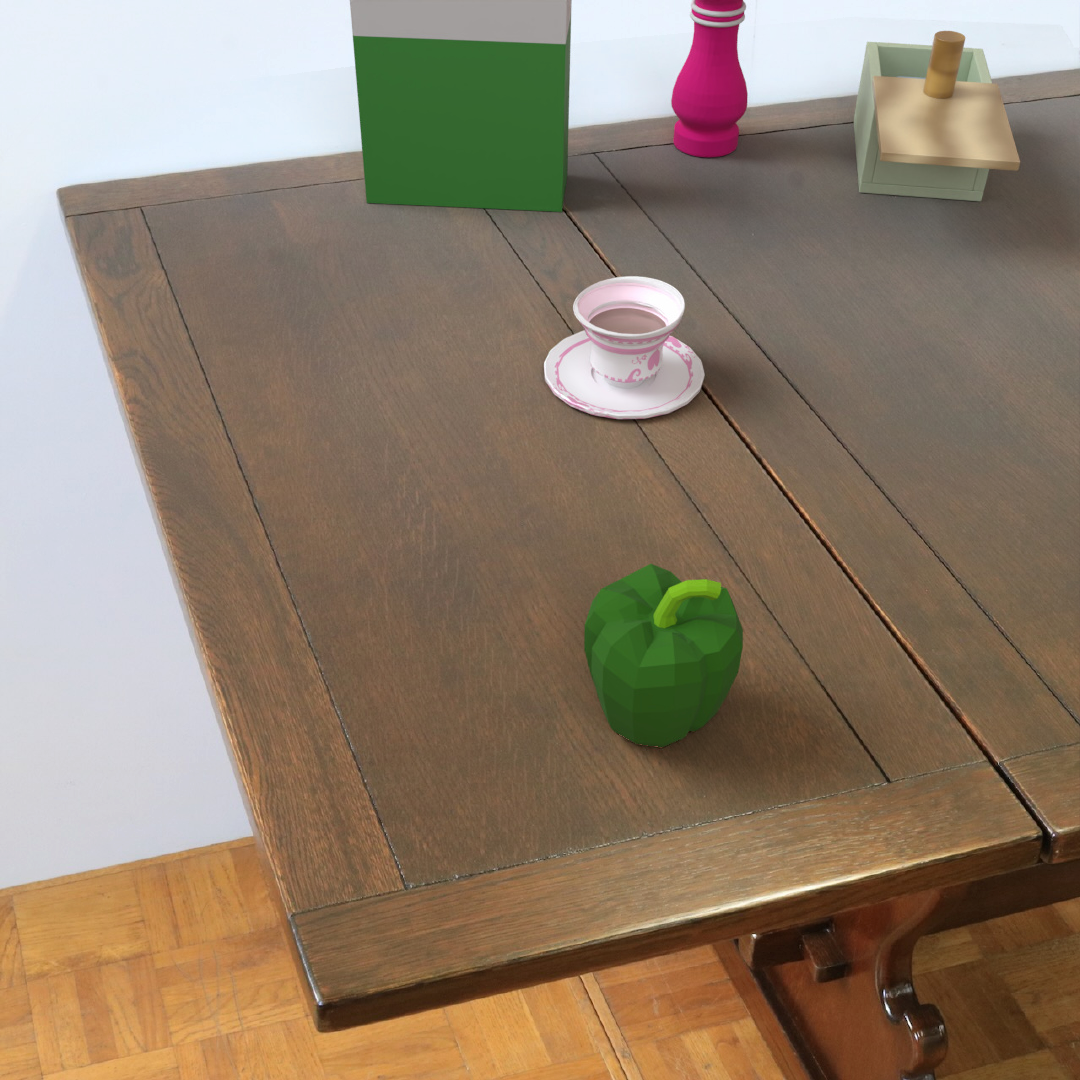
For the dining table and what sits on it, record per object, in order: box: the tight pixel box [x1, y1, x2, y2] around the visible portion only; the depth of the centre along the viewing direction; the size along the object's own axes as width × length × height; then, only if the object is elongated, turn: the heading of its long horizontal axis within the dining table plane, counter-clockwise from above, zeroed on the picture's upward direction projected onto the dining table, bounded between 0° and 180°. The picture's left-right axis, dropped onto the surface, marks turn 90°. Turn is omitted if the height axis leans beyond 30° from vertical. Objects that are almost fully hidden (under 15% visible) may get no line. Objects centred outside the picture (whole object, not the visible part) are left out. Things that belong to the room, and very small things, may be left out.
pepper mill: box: [670, 0, 749, 158], centre depth 123 cm, size 7×7×20 cm
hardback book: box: [349, 0, 572, 213], centre depth 114 cm, size 18×7×24 cm, turn 85°
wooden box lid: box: [872, 30, 1021, 172], centre depth 112 cm, size 11×16×6 cm
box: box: [853, 41, 993, 202], centre depth 125 cm, size 11×16×8 cm
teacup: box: [543, 275, 706, 420], centre depth 97 cm, size 12×12×6 cm
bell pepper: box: [583, 563, 744, 748], centre depth 71 cm, size 8×8×10 cm
